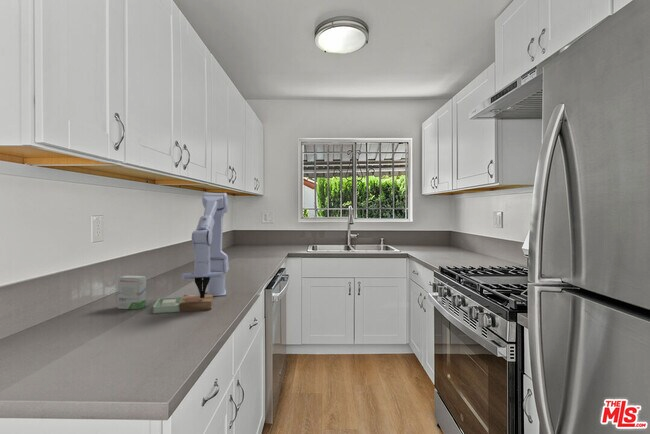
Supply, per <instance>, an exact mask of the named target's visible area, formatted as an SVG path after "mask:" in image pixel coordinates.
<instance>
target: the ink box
mask: <svg viewBox="0 0 650 434" xmlns="http://www.w3.org/2000/svg"><path fill="white" fill-rule="evenodd" d="M145 307H147V276H145V275H123V276H120V277H118V278H117V309H119V310H141V309H143V308H145Z"/></svg>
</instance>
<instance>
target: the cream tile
mask: <svg viewBox="0 0 650 434" xmlns="http://www.w3.org/2000/svg"><path fill="white" fill-rule="evenodd" d="M169 305H176V299H168V300H163V302H162V306H169Z"/></svg>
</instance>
